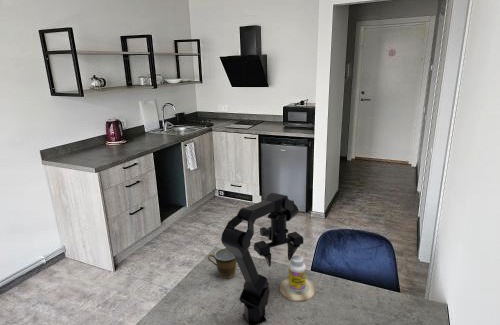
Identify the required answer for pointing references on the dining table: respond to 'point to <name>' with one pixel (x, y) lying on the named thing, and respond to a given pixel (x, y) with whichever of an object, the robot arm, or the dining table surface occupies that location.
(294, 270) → the supplement bottle
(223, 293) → the dining table surface
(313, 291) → the round tan coaster
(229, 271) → the ceramic cup
